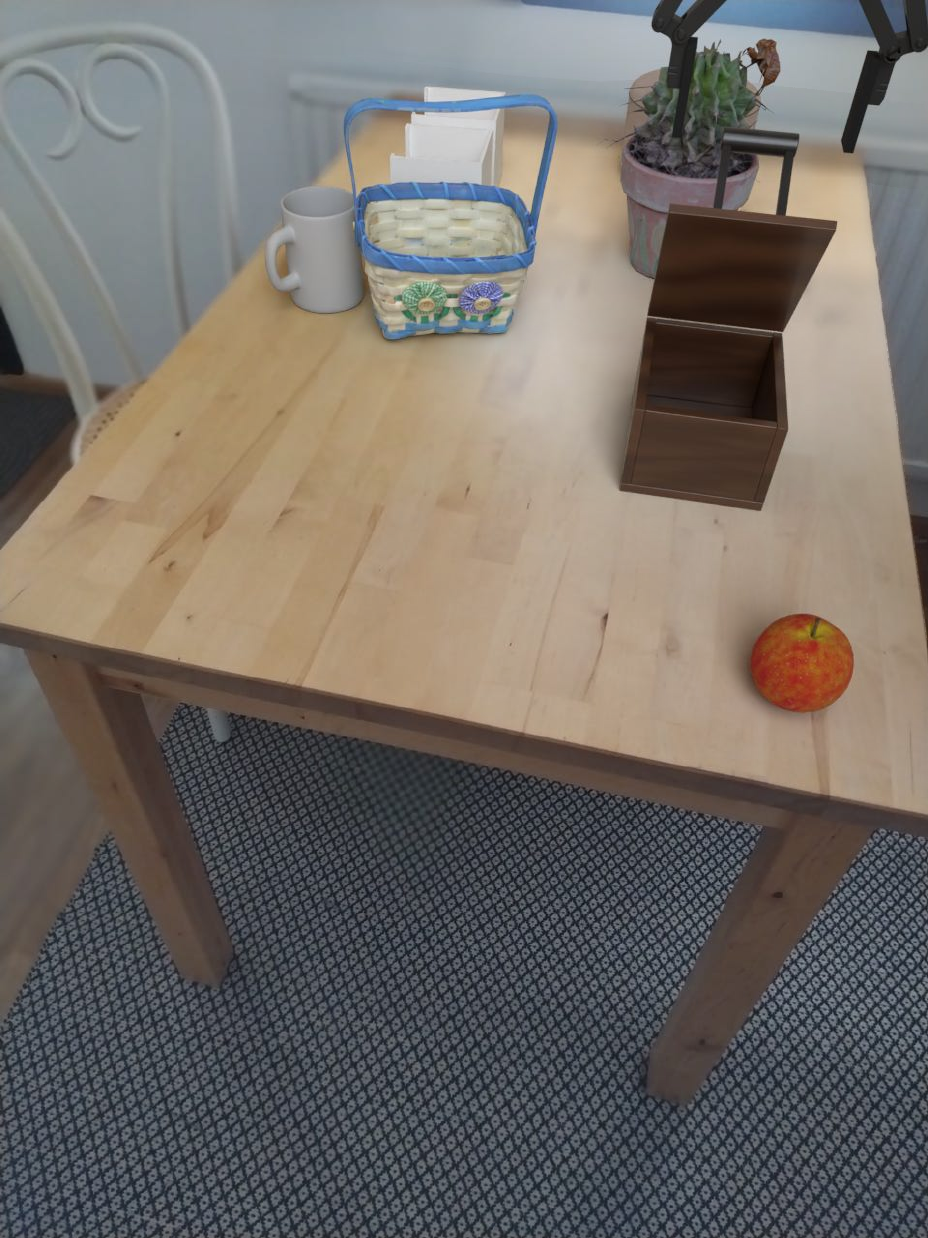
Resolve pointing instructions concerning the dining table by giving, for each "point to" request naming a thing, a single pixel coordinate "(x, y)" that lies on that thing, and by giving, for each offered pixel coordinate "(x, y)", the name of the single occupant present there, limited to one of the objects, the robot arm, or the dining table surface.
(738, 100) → the potted plant
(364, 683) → the dining table surface
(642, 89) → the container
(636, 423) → the chest
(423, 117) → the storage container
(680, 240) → the lid
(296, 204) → the mug
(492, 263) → the basket
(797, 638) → the fruit
